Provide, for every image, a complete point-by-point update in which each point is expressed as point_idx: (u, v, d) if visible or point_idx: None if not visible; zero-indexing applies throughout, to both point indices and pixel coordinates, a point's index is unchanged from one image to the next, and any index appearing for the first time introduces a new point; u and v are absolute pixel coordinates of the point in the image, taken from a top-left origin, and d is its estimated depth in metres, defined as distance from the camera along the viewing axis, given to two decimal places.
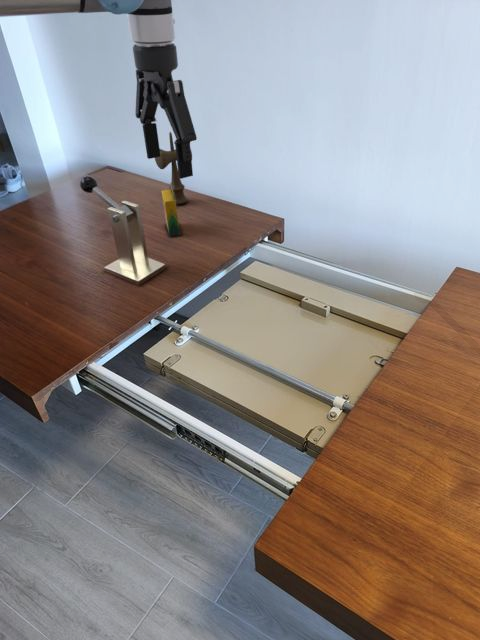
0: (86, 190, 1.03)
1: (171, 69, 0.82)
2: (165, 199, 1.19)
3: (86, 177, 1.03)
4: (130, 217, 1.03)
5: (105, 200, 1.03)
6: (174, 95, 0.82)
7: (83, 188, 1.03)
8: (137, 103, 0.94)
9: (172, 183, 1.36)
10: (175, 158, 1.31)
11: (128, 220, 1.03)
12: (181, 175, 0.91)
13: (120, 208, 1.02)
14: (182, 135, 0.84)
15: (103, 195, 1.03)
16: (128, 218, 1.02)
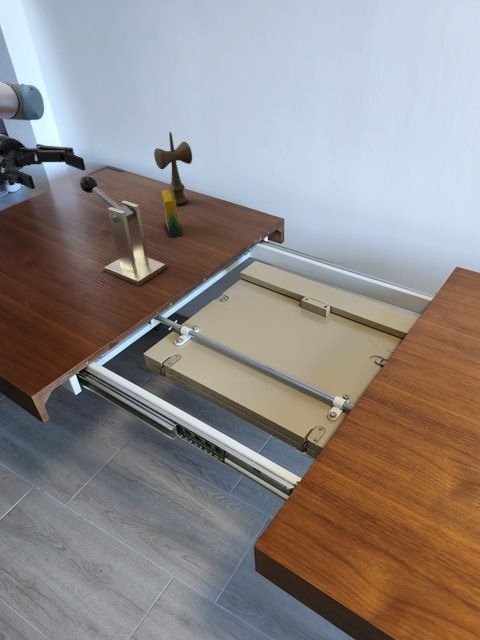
0: (86, 190, 1.03)
1: None
2: (165, 199, 1.19)
3: (86, 177, 1.03)
4: (130, 217, 1.03)
5: (105, 200, 1.03)
6: None
7: (83, 188, 1.03)
8: None
9: (172, 183, 1.36)
10: (175, 158, 1.31)
11: (128, 220, 1.03)
12: (30, 187, 1.03)
13: (120, 208, 1.02)
14: None
15: (103, 195, 1.03)
16: (128, 218, 1.02)
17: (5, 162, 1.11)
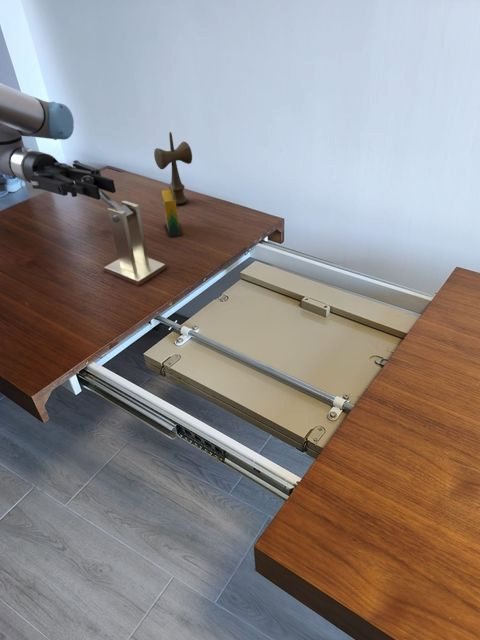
0: None
1: (32, 171, 1.07)
2: (165, 199, 1.19)
3: (86, 177, 1.03)
4: (130, 217, 1.03)
5: (105, 200, 1.03)
6: (40, 186, 1.05)
7: None
8: None
9: (172, 183, 1.36)
10: (175, 158, 1.31)
11: (128, 220, 1.03)
12: (96, 198, 1.01)
13: (120, 208, 1.02)
14: None
15: (103, 195, 1.03)
16: (128, 218, 1.02)
17: None
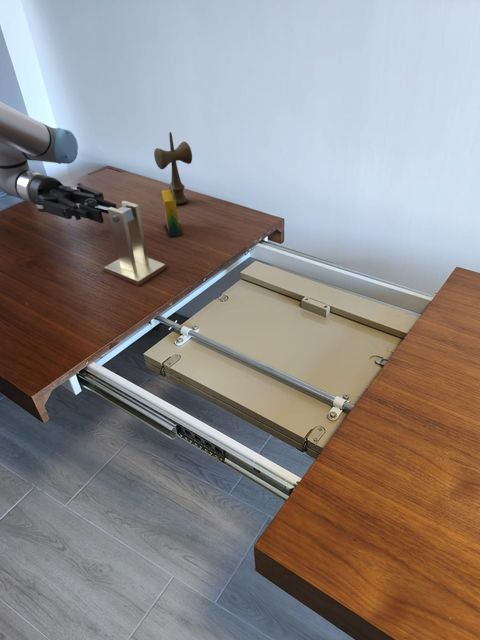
0: None
1: (37, 194, 1.11)
2: (165, 199, 1.19)
3: None
4: (130, 214, 1.02)
5: (106, 211, 1.05)
6: (45, 210, 1.09)
7: None
8: None
9: (172, 183, 1.36)
10: (175, 158, 1.31)
11: (129, 218, 1.02)
12: (99, 221, 1.05)
13: None
14: None
15: (104, 208, 1.05)
16: (128, 215, 1.02)
17: None
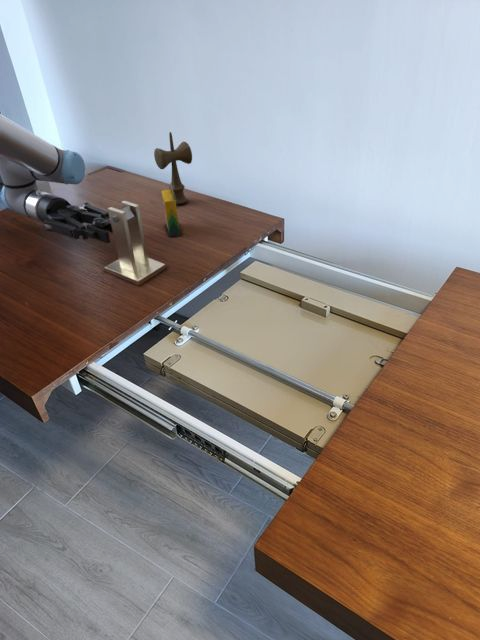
0: None
1: (45, 214, 1.14)
2: (165, 199, 1.19)
3: None
4: (128, 211, 1.02)
5: None
6: (53, 230, 1.12)
7: None
8: None
9: (172, 183, 1.36)
10: (175, 158, 1.31)
11: (128, 215, 1.02)
12: (106, 242, 1.08)
13: None
14: None
15: (108, 219, 1.07)
16: (126, 212, 1.02)
17: (55, 221, 1.14)
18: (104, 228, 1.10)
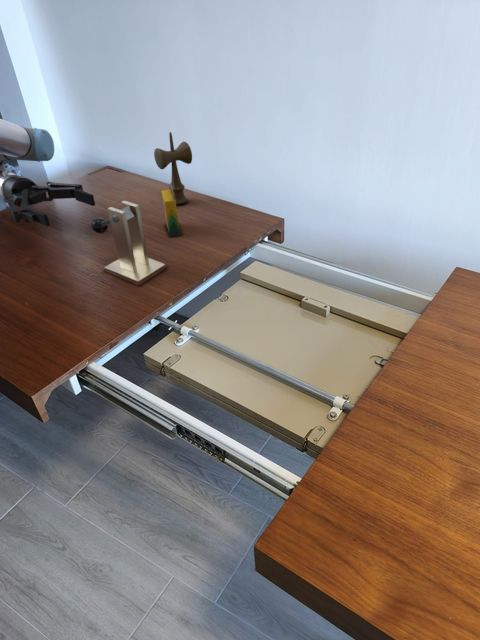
0: (97, 228, 1.09)
1: (11, 194, 1.18)
2: (165, 199, 1.19)
3: None
4: (128, 211, 1.02)
5: None
6: (9, 208, 1.15)
7: (95, 228, 1.09)
8: None
9: (172, 183, 1.36)
10: (175, 158, 1.31)
11: (128, 215, 1.02)
12: (45, 224, 1.10)
13: None
14: None
15: (108, 219, 1.07)
16: (126, 212, 1.02)
17: (19, 200, 1.17)
18: (104, 228, 1.10)
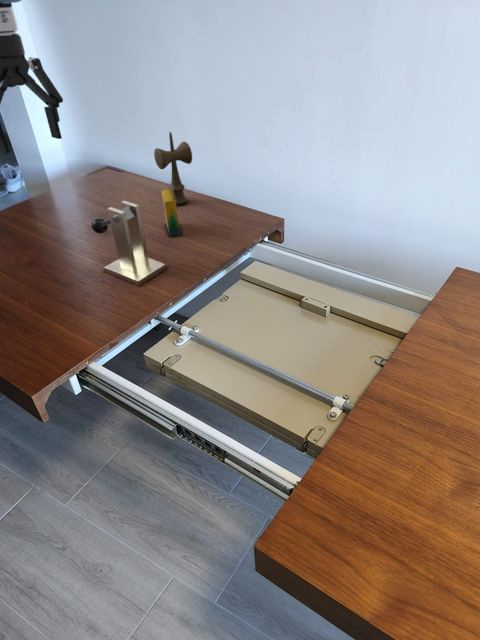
0: (97, 228, 1.09)
1: None
2: (165, 199, 1.19)
3: None
4: (128, 211, 1.02)
5: None
6: None
7: (95, 228, 1.09)
8: None
9: (172, 183, 1.36)
10: (175, 158, 1.31)
11: (128, 215, 1.02)
12: None
13: None
14: None
15: (108, 219, 1.07)
16: (126, 212, 1.02)
17: None
18: (104, 228, 1.10)
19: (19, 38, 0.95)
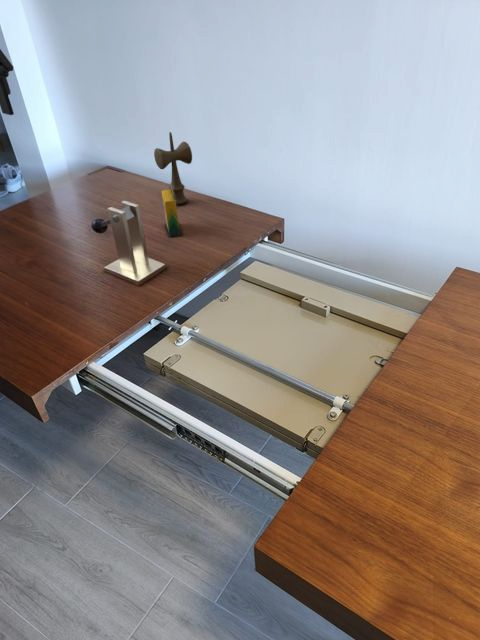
0: (97, 228, 1.09)
1: None
2: (165, 199, 1.19)
3: None
4: (128, 211, 1.02)
5: None
6: None
7: (95, 228, 1.09)
8: None
9: (172, 183, 1.36)
10: (175, 158, 1.31)
11: (128, 215, 1.02)
12: None
13: None
14: None
15: (108, 219, 1.07)
16: (126, 212, 1.02)
17: None
18: (104, 228, 1.10)
19: None
